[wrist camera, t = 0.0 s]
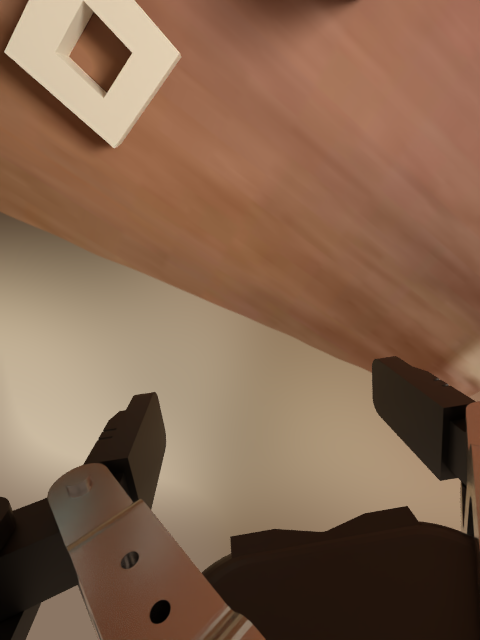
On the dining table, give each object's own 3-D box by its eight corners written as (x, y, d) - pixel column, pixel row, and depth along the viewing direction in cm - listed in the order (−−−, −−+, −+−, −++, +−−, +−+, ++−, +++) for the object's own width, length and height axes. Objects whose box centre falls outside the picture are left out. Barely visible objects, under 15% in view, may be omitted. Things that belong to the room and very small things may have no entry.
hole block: (22, 56, 28) (4, 51, 26) (81, -60, 25) (66, -79, 22) (121, 143, 33) (114, 148, 30) (181, 57, 30) (179, 53, 27)
